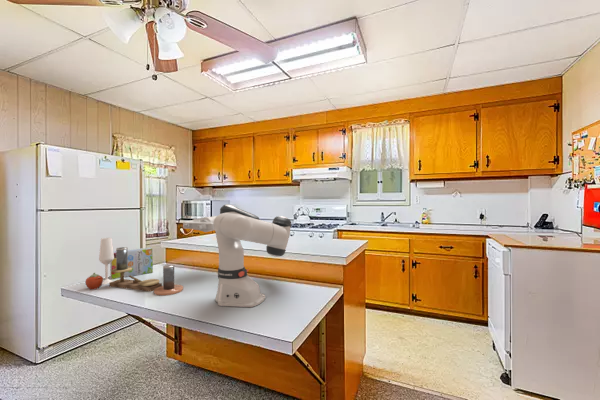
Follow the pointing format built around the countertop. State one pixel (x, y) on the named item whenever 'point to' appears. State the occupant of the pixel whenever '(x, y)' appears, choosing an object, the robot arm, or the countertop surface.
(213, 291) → the countertop surface
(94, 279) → the tomato
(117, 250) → the cylinder
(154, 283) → the balance
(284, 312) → the countertop surface
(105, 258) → the champagne flute
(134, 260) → the snack box
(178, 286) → the dish
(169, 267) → the brushed steel peg
